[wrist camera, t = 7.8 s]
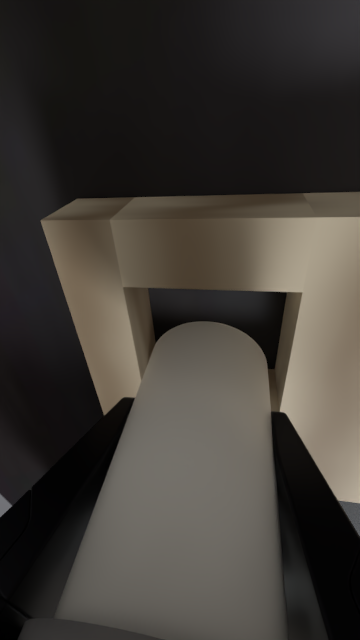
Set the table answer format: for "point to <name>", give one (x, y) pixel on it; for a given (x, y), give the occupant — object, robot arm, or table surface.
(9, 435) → the table surface
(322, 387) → the socket board
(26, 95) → the table surface
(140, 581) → the plug
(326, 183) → the table surface
